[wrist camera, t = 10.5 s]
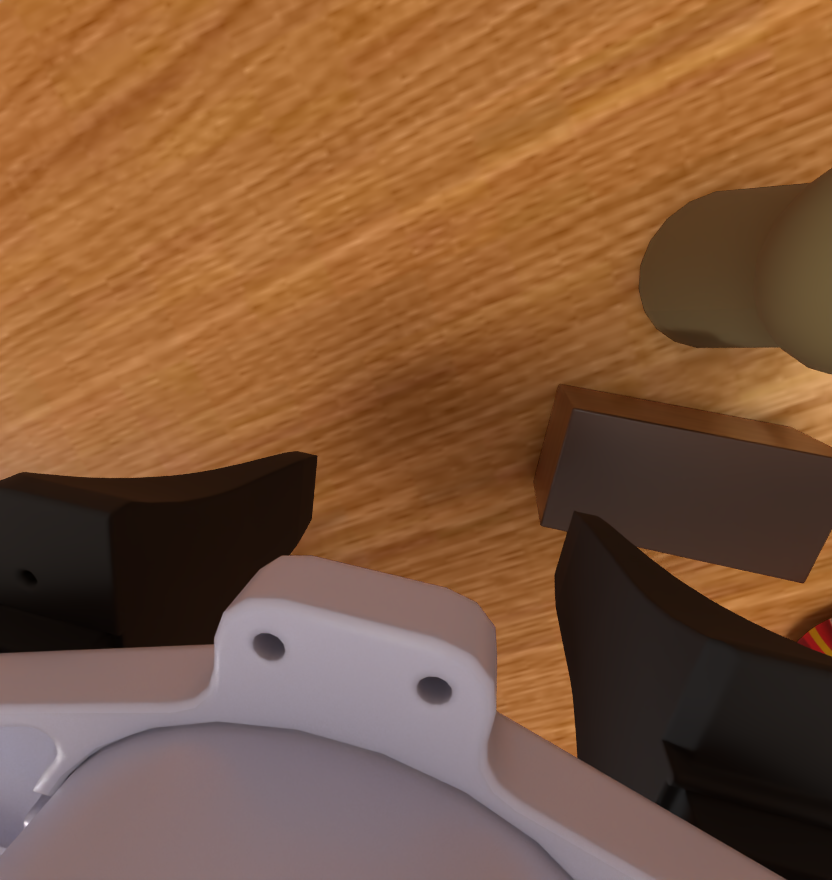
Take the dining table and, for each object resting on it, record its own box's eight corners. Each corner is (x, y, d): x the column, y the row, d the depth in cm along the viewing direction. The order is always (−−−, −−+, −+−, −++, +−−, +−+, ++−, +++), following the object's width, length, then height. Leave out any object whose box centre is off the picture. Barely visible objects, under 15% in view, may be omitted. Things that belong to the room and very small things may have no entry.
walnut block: (747, 527, 22) (804, 584, 18) (532, 482, 23) (539, 526, 19) (792, 427, 21) (866, 463, 16) (559, 383, 22) (573, 407, 17)
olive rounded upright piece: (805, 169, 18) (1224, 14, 7) (803, 332, 19) (1146, 389, 9) (632, 211, 19) (786, 128, 9) (644, 360, 21) (785, 437, 10)
